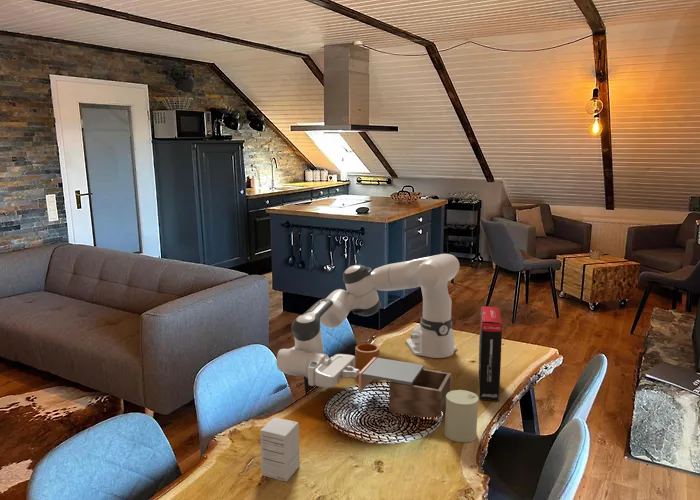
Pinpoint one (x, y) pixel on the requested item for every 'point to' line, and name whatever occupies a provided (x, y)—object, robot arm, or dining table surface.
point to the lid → (389, 372)
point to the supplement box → (280, 449)
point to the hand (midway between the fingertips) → (358, 373)
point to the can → (461, 416)
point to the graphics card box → (490, 353)
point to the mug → (365, 354)
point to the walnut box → (421, 395)
